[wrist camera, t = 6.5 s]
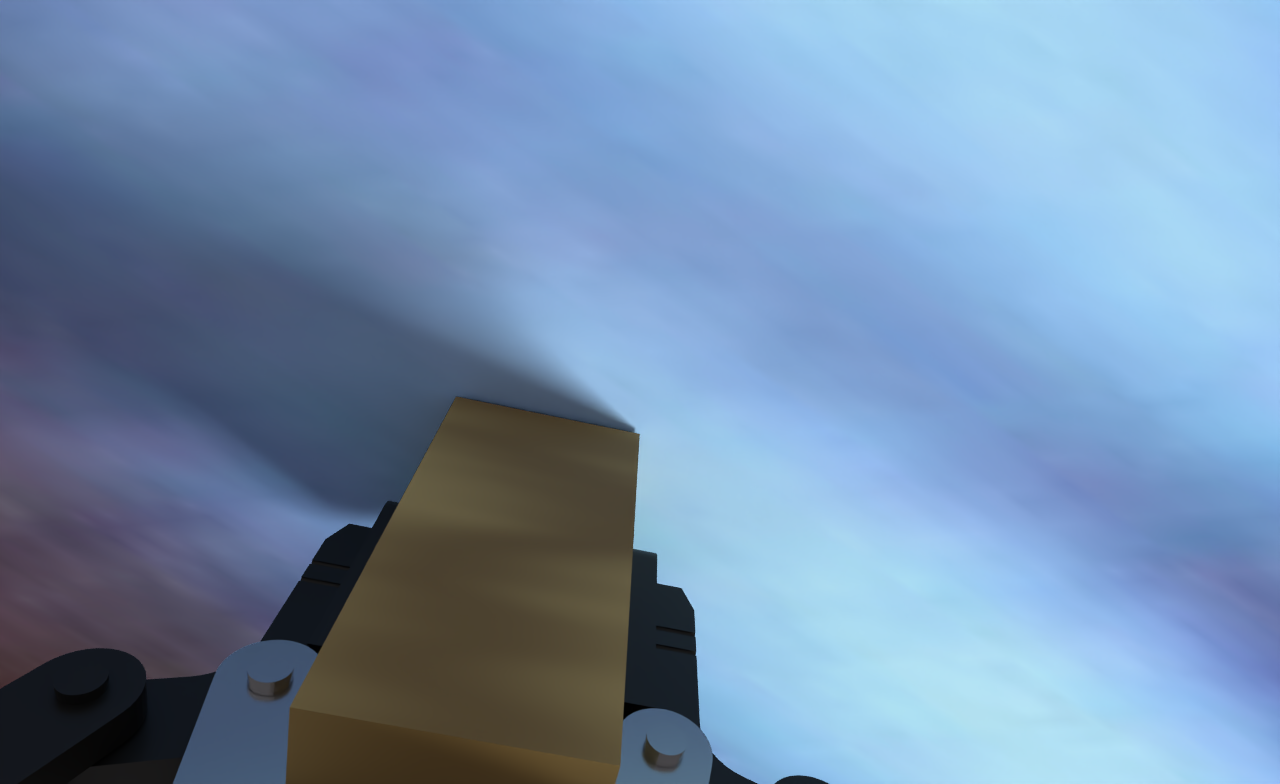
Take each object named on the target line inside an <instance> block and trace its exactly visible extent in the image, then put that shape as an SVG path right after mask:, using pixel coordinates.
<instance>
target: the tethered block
mask: <svg viewBox="0 0 1280 784" xmlns="http://www.w3.org/2000/svg"><path fill="white" fill-rule="evenodd" d="M639 435H640V434H637V433H632V432H628V431H623V430H618V429H613V428H608V427H603V426H598V425H593V424H588V423H583V422H579V421H574V420H569V419H564V418H559V417H554V416H549V415H544V414H539V413H535V412H530V411H525V410H520V409H515V408H510V407H505V406H500V405H495V404H491V403H486V402H481V401H476V400H471V399H466V398H461V397H456V398H455V400H454V401H453V403H452V405H451V407H450V409H449V411H448V413H447V414H446V416H445V418H444V420H443V422H442V424H441V426H440V428H439V429H438V431H437V433H436V435H435V437H434V439H433V441H432V442H431V444H430V446H429V448H428V450H427V452H426V454H425V456H424V457H423V459H422V461H421V463H420V465H419V467H418V469H417V470H416V472H415V474H414V476H413V478H412V480H411V482H410V484H409V485H408V487H407V489H406V491H405V493H404V495H403V497H402V498H401V500H400V502H399V504H398V506H397V508H396V510H395V512H394V513H393V515H392V517H391V519H390V521H389V523H388V525H387V526H386V528H385V530H384V532H383V534H382V536H381V538H380V539H379V541H378V543H377V545H376V547H375V549H374V551H373V553H372V554H371V556H370V558H369V560H368V562H367V564H366V566H365V567H364V569H363V571H362V573H361V575H360V577H359V579H358V581H357V582H356V584H355V586H354V588H353V590H352V592H351V594H350V595H349V597H348V599H347V601H346V603H345V605H344V607H343V609H342V610H341V612H340V614H339V616H338V618H337V620H336V622H335V623H334V625H333V627H332V629H331V631H330V633H329V635H328V637H327V638H326V640H325V642H324V644H323V646H322V648H321V650H320V651H319V653H318V655H317V657H316V659H315V661H314V663H313V665H312V666H311V668H310V670H309V672H308V674H307V676H306V678H305V679H304V681H303V683H302V685H301V687H300V689H299V691H298V692H297V694H296V696H295V698H294V700H293V702H292V704H291V706H290V710H289V728H288V747H287V765H286V783H285V784H615V783H616V779H617V776H618V772H619V769H620V763H621V746H622V729H623V711H624V694H625V677H626V660H627V642H628V625H629V608H630V590H631V573H632V556H633V538H634V521H635V504H636V487H637V469H638V452H639Z"/></svg>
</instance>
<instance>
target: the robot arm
mask: <svg viewBox="0 0 1280 784" xmlns="http://www.w3.org/2000/svg"><path fill="white" fill-rule="evenodd" d="M398 504H399V503H397V502H392V501H388V502H387V503H386V504H385V506H384V508H383V509H382V511H381V513H380V515H379V516H378V518H377V520H376V522H375V524H374V525H373V527H372V528H369V527H364V526H359V525H354V524H348V525H347V526H345V527H344V528H342V529H341V530H339V531H337V532H336V533H334V534H333V535H331V536H330V537H328V538H327V539H325V541H324V542H323V544H322V546H321V547H320V549H319V550H318V552H317V553H316V555H315V557H314V558H313V560H312V564H309V566H308V568H307V569H306V571H305V572H304V574H303V575H302V578H301V581H299V582H298V583H297V585H296V586H295V588H294V590H293V591H292V593H291V594H290V596H289V597H288V599H287V601H286V602H285V604H284V605H283V607H282V608H281V610H280V612H279V613H278V615H277V616H276V618H275V619H274V621H273V623H272V624H271V626H270V627H269V629H268V630H267V632H266V633H265V635H264V637H263V638H262V640H261V641H260V642H257V643H253V644H251V645H248V646H245V647H243V648H241V649H239V650H237V651H236V652H234V653H233V654H231V655H230V656H228V657H227V658H226V659H225V660H224V661H223V662H222V663H221V665H220V666H219V667H218V669H217V671H216V672H213V673H209V674H205V675H200V676H191V677H178V678H164V679H149V680H146V672H145V669H144V667H143V665H142V664H141V662H140V661H139V660H138V659H136V658H135V657H134V656H132V655H130V654H128V653H126V652H123V651H119V650H114V649H104V648H96V649H85V650H80V651H75V652H71V653H68V654H65V655H62V656H59V657H57V658H54V659H52V660H50V661H48V662H46V663H44V664H43V665H41V666H39V667H37V668H36V669H34V670H32V671H31V672H29V673H27V674H25V675H24V676H22V677H20V678H18V679H17V680H15V681H13V682H11V683H10V684H8V685H6V686H4V687H3V688H1V689H0V784H285V783H286V765H287V747H288V728H289V710H290V706H291V704H292V702H293V700H294V698H295V696H296V694H297V692H298V691H299V689H300V687H301V685H302V683H303V681H304V679H305V678H306V676H307V674H308V672H309V670H310V668H311V666H312V665H313V663H314V661H315V659H316V657H317V655H318V653H319V651H320V650H321V648H322V646H323V644H324V642H325V640H326V638H327V637H328V635H329V633H330V631H331V629H332V627H333V625H334V623H335V622H336V620H337V618H338V616H339V614H340V612H341V610H342V609H343V607H344V605H345V603H346V601H347V599H348V597H349V595H350V594H351V592H352V590H353V588H354V586H355V584H356V582H357V581H358V579H359V577H360V575H361V573H362V571H363V569H364V567H365V566H366V564H367V562H368V560H369V558H370V556H371V554H372V553H373V551H374V549H375V547H376V545H377V543H378V541H379V539H380V538H381V536H382V534H383V532H384V530H385V528H386V526H387V525H388V523H389V521H390V519H391V517H392V515H393V513H394V512H395V510H396V508H397V506H398ZM695 655H696V638H695V618H694V609H693V607H692V606H691V604H690V602H689V601H688V599H687V597H686V595H685V594H684V592H683V590H682V588H678V587H673V586H668V585H662V584H657V554H656V553H651V552H646V551H641V550H636V549H633V556H632V573H631V590H630V608H629V625H628V642H627V660H626V677H625V694H624V711H623V729H622V746H621V763H620V769H619V772H618V776H617V779H616V783H615V784H757V783H755V782H753V781H751V780H749V779H747V778H745V777H742V776H741V775H739V774H737V773H735V772H733V771H732V770H731V769H729V768H728V767H726V766H725V765H724V764H723V763H722V762H720V761H719V760H718V759H717V758H716V757H715V755H714V754H713V753H712V749H711V746H710V743H709V741H708V739H707V737H706V736H705V734H704V733H703V732H702V730H701V729H700V719H699V699H698V679H697V658H696V656H695ZM775 784H828V783H826V782H824V781H822V780H819V779H816V778H813V777H808V776H799V775H797V776H789V777H786V778H783V779H781V780H779V781H777V782H776V783H775Z"/></svg>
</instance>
